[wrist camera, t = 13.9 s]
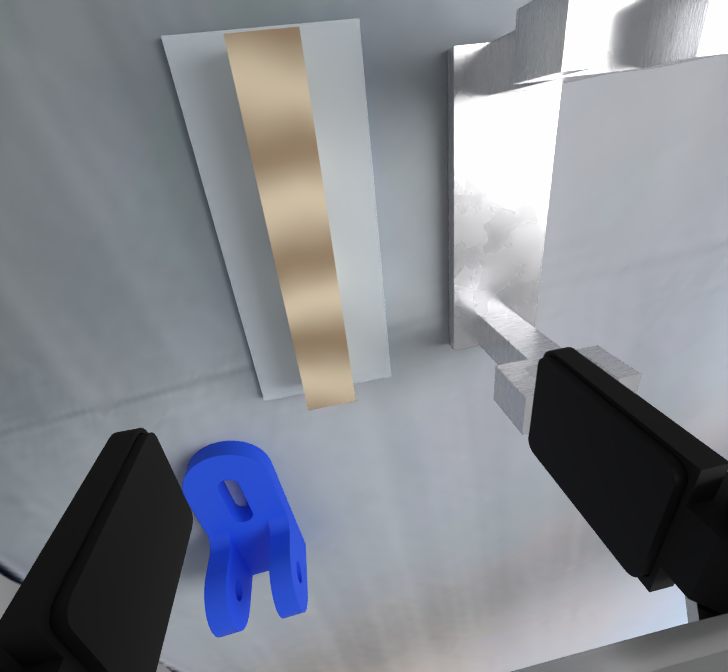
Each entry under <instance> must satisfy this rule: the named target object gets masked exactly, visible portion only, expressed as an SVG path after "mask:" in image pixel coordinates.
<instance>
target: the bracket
mask: <svg viewBox="0 0 728 672" xmlns="http://www.w3.org/2000/svg"><path fill="white" fill-rule="evenodd" d="M224 480H234V481H236V482H237V483H238V484H239V486H240V488H241V490H242V492H243V494H244V496H245V498H246V500H247V502H248V504H249V506H246V507H241V506H238V505H236V504H235V502H234V500H233V498H232V496H231V494H230V492H229V490H228V488H227V486H226V484H225V482H224ZM182 489H183V494H184V496H185V498H186V500H187V502H188V504H189V505H190V507H191V509H192V510H193V512H194V514H195V515H196V517H197V519H198V520H199V522H200V524H201V525H202V527H203V529H204V530H205V532H206V534H207V535H208V538H209V541H210V557H209V562H208V567H207V573H206V578H205V588H204V601H205V611H206V617H207V621H208V624H209V627H210V629H211V631H212V633H213V634H214V635H215V636H216V637H223V636H226V635H229V634H233V633H236V632H239V631H242V630H244V628H245V627H246V625H247V622H248V618H249V612H250V601H251V589H252V576H253V575H255V574H258V573H262V572H265V571H269V573H270V583H271V590H272V595H273V600H274V603H275V607H276V610H277V612H278V614H279V616H280V617H281V618H286V617H290V616H293V615H296V614H300V613H303V612H305V611H306V609H307V602H308V590H307V567H306V544H305V542H304V539H303V537H302V535H301V532H300V530H299V527H298V525H297V523H296V520H295V518H294V515H293V513H292V511H291V508H290V506H289V503H288V501H287V498H286V496H285V494H284V491H283V489H282V486H281V484H280V482H279V479H278V477H277V474H276V472H275V470H274V467H273V465H272V462H271V460H270V458H269V457H268V456H267V454H266V453H265V452H264V451H262V450H261V449H260V448H258V447H256V446H254V445H252V444H249V443H245V442H240V441H222V442H217V443H214V444H211V445H208V446H206V447H204V448H203V449H201V450H200V451H198V452H197V453H196V454H195V455H194V456H193V457H192V459H191V460H190V462H189V465H188V468H187V471H186V474H185V478H184V481H183V486H182Z"/></svg>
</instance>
